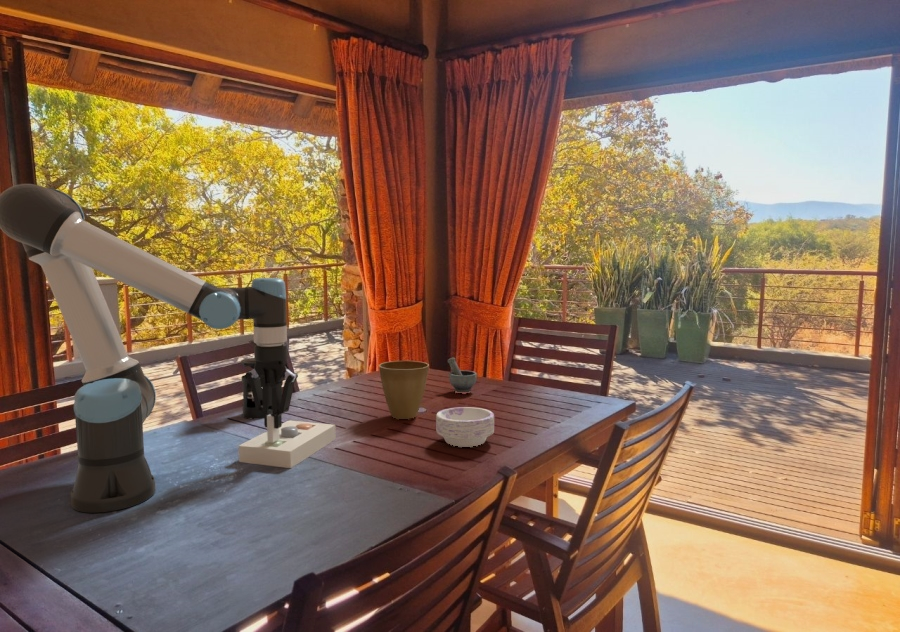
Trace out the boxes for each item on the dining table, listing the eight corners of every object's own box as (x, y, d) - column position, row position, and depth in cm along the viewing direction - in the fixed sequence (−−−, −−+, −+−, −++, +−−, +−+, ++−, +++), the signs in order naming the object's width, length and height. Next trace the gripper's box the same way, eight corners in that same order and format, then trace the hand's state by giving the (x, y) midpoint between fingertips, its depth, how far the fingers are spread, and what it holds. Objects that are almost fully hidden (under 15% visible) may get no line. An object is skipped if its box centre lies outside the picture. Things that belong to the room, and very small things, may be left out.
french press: (252, 421, 177) (249, 343, 174) (233, 415, 182) (230, 340, 180) (285, 412, 186) (283, 339, 183) (266, 407, 192) (264, 336, 189)
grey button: (292, 447, 149) (292, 431, 149) (278, 445, 150) (278, 430, 150) (301, 442, 153) (300, 427, 153) (287, 441, 154) (286, 425, 154)
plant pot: (435, 420, 178) (435, 367, 176) (387, 425, 173) (386, 371, 171) (419, 408, 192) (419, 358, 190) (374, 412, 186) (373, 361, 185)
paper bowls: (454, 430, 169) (454, 402, 168) (503, 439, 161) (504, 410, 160) (424, 445, 156) (424, 415, 155) (476, 456, 148) (476, 424, 147)
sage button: (276, 461, 143) (276, 445, 142) (262, 460, 144) (261, 443, 143) (286, 456, 147) (285, 440, 146) (271, 454, 148) (271, 438, 147)
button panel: (290, 468, 139) (290, 451, 139) (239, 461, 143) (238, 445, 143) (335, 439, 160) (335, 424, 160) (289, 434, 164) (288, 420, 164)
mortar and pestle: (481, 391, 214) (482, 358, 213) (467, 396, 206) (467, 362, 205) (455, 387, 220) (455, 355, 219) (440, 392, 213) (440, 358, 211)
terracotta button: (307, 443, 156) (306, 428, 156) (293, 442, 157) (293, 427, 157) (315, 438, 160) (314, 424, 159) (301, 437, 161) (301, 422, 161)
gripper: (303, 342, 144) (305, 438, 146) (256, 340, 147) (259, 433, 150) (286, 347, 137) (288, 448, 139) (237, 344, 140) (240, 442, 143)
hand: (273, 440), depth 145 cm, fingers closed
